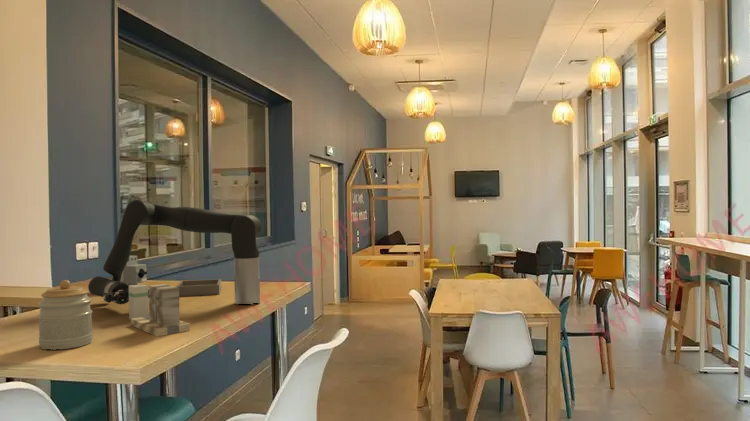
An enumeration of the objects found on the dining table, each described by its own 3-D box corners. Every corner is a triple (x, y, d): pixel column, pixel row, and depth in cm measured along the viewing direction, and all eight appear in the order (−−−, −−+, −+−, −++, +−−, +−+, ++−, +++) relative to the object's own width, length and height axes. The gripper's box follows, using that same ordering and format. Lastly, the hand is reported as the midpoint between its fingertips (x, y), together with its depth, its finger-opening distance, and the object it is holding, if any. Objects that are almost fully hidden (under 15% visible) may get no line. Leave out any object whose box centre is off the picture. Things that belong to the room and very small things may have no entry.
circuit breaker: (139, 292, 236) (139, 257, 236) (110, 291, 239) (109, 257, 239) (150, 289, 244) (149, 255, 243) (121, 289, 247) (120, 255, 246)
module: (129, 318, 184) (128, 285, 183) (143, 316, 187) (142, 284, 187) (134, 320, 180) (133, 287, 180) (148, 318, 183) (148, 285, 183)
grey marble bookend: (131, 325, 174) (130, 283, 174) (162, 320, 181) (161, 280, 180) (156, 336, 159) (155, 291, 159) (189, 330, 166) (188, 287, 165)
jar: (35, 353, 143) (33, 285, 142) (42, 341, 155) (41, 278, 154) (91, 347, 148) (89, 281, 148) (94, 336, 160) (93, 275, 159)
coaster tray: (221, 288, 246) (221, 279, 245) (219, 294, 229) (219, 284, 229) (181, 289, 242) (180, 280, 242) (176, 296, 225) (175, 286, 225)
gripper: (96, 284, 193) (111, 289, 181) (138, 279, 203) (155, 284, 191) (97, 305, 193) (112, 312, 181) (139, 300, 203) (156, 305, 191)
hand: (134, 297), depth 186 cm, fingers open, 8 cm apart
